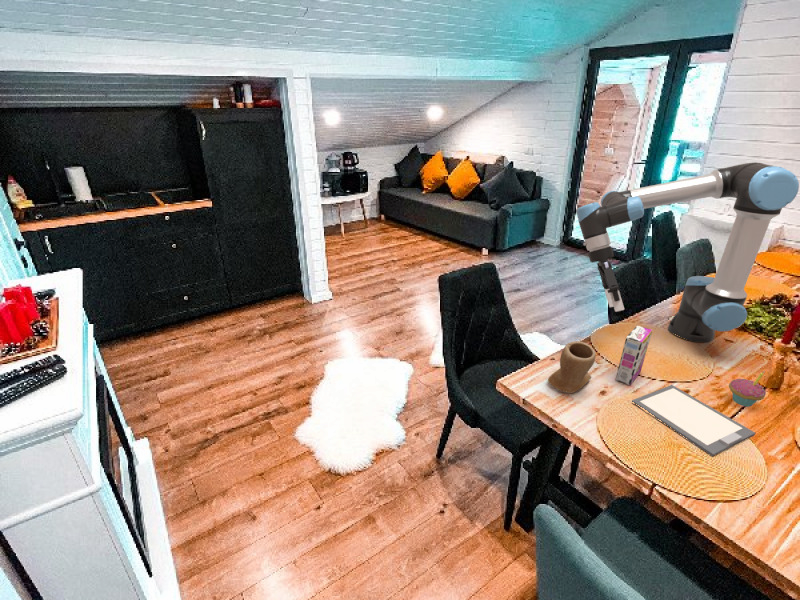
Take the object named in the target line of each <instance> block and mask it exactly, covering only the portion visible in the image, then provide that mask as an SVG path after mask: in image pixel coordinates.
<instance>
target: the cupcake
mask: <svg viewBox="0 0 800 600" xmlns="http://www.w3.org/2000/svg"><path fill="white" fill-rule="evenodd" d="M764 374H765V371H763V372H760V374H759V375H758V376H757V377H756V379H755V380H750V379H745V378H737V379H732V380H731V381H730V382H729V384H728V387H729V391H730V392H732V401H733V402H734V403H735V404H737V405H739V406H743V407H746V408H748V407H749V408H750V407H752V406H753V405H754V404H755V403H756V402H758V401H759V402H760V401H762V400H764V399H765V396H766V391H765V388H764V387H763V386H762V385H760V384H759V381H760V380H761V378H762V377H763V375H764Z"/></svg>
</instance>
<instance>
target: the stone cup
mask: <svg viewBox="0 0 800 600" xmlns="http://www.w3.org/2000/svg"><path fill="white" fill-rule="evenodd" d="M595 360H596V351H595V349H594V348H593V347H592V346H591V345H590V344H588V343H587V342H584V341H577V340H576V341H575V340H574V341H571V342H569V343H568V342H567V343H566V345H565V346H564V348H563V349H562V351H561V355H560V358H559V366H560V367H559V368H558V369H557V370H556V371H554V372H553V373H552V374H550V376H549V377H548V379H547V383H548V384H549V385H550V386H552V387H553V388H554V389H556V390H558V391H561V392H563V393H567V394H573V393H576V392H577V391H580V390H581V389H582V388H584V386H585V385H586V384H587V383H588V382H589V381H590V380H591V379H592V376H591V374H590V373H589V371H590V369H591V368H592V367H593V366H594V363H595Z"/></svg>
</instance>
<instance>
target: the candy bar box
mask: <svg viewBox="0 0 800 600" xmlns="http://www.w3.org/2000/svg"><path fill="white" fill-rule="evenodd" d="M652 333H653V329H652V328H647V327H644V326H640V325H636V326H635V327H634V328H633V329H632V330H631V332H629V334H628V335H627V336H626V337H625V342H624V344H623V349H622V353H621V357H620V360H619V365H618V368H617V372H616V375H615V376H616V377H615V379H614V380H615V381H617V382H619V383H622V384H625V385H627V386H631V385H632V384H633V382H634V381H635V380H636V378H637V377H638V376H639V375H640V373H641V372H642V369H643V365H644V361H645V359H646V355H647V354H646V353H647V352H648V351H647V350H648V347H649V344H650V340H651V337H652Z"/></svg>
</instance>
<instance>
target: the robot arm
mask: <svg viewBox="0 0 800 600" xmlns="http://www.w3.org/2000/svg"><path fill="white" fill-rule="evenodd" d="M799 189H800V183H799V180H798V178H797V176H796V175H795V173H793V172H792V171H791V170H788V169H786V168H784V167H782V166H777V165H773V164H772V165H771V164H766V163H762V162H748V163H747V162H745V163H741V164H736V165H731V166H728V167H724V168H723V167H722V168H719V169H718V168H717V169H714V170H712V171H711V172H710V174H704V175H698V176H693V177H688V178H683V179H679V180H674V181H672V180H671V181H669V182H663V183H658V184H654V185H648V186H643V187H637V188H633V189H628V190H623V191H617V190H610V191H608V192H606V193H604V194H603V195H602V197H601V199H600V203H599V202H597V201H595V202H592V203H588V204H585V205H582V206H580V207H578V208H577V210H576V216H577V219H578V220H577V221H578V224H579V228H580V230H581V231H580V232H581V234H582V237H583V240H584V242H583V246H585V247H586V250H587V252H588V251H589V252H588V254H587V255H588V259H589V261H590V263H595V262H597V263H596V265H597V270H598V273H599V276H600V280H601V283H602V288H603V289H604V293H605V297H606V300H607V302H608V307H609V308H613V309H614V312H615V313H616V312H621V311H624V310H625V307H624V303H623V300H622V297H621V292H620V286H619V284H618V281H617V278H616V275H615V273H614V270H613V265H612V263H611V261H608V259H610V258H613V257H614V256H615V255H614V250H613V247H612V246H611V243H612V242H611V240H610V237H609V233H608V230H607V229H609V228H612V227H615V226H618V225H622V224H625V223H629V222H633V221H635V220H638V219H641V218H643V217H644V215H645V210H646V209H650V208H656V207H660V206H667V205H673V204H678V203H683V202H689V201H694V200H695V201H696V200H701V199H706V198H710V197H712V199H713V198H714V199H715V200H716V199H717V200H718V199H723V198H734V199H735V202H734V205H733V207H732V209H733V211H734V212H735V214H736V216H735V218H734V222H733V225H732V227H731V230H730V233H729V235H728V239H727V242H726V244H725V247H724V249H723V253H722V256H721V259H720V261H719V264H718V268H717V270H716V271H715V272H716V273H715V275H714V277H712V276H704V275H695V276H693V275H692V276H690V277H688V278H687V281H686V283H684V289H683V293H682V296H681V300H680V305H679V307H678V311H677V312H676V313H675V315H674V316H673V317H672V318H671V320H670V321H669V323H668V327H667V330H668V331H669V333H671V332H672V333H674V334H676V335H678V336H680V337H682V338H685V339H687V340H686V341H689V342H693V343H694V342H695V343H708V342H711V341H713V340H714V338H715V335H716V331H717V332H730V331H732V330H734V329H738V328H740V327H741V326H742V325H743V324H744V323H745V322H746V321H747V317H748V312H747V309H746V308H745V306H744V304H745V302H746V300H747V297H748V293H747V292H746V291H745V286H746V284H747V282H748V278H749V276H750V274H751V271H752V268H753V266H754V263H755V261H756V258H757V256H758V253H759V251H760V249H761V246H762V243H763V241H764V238H765V235H766V233H767V230H768V227H769V226H770V223H771V220H772V219H774V218H775V217H778V216H779V215H780V214H781V211H782V209H783V208H786V207H787V206H788V205H789V204H791V203H792V202H793V201H794V200H795V198H796V197H797V195H798V192H799ZM672 333H671V334H672ZM682 338H681V339H682ZM685 339H684V340H685Z"/></svg>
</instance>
